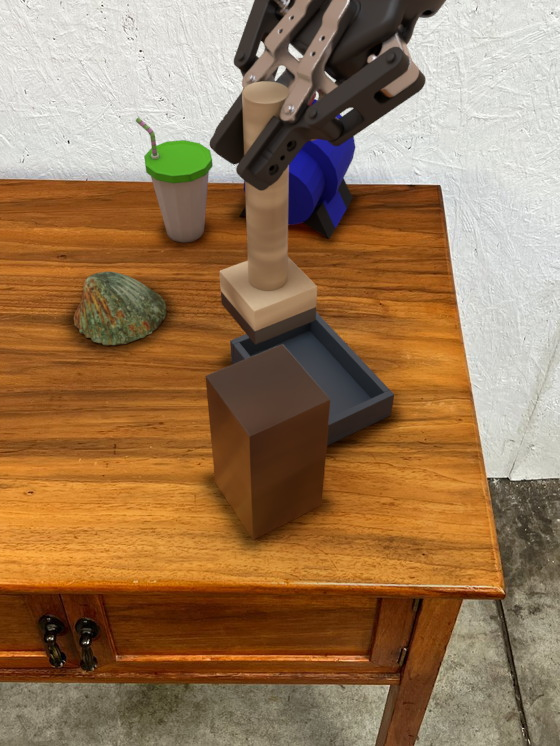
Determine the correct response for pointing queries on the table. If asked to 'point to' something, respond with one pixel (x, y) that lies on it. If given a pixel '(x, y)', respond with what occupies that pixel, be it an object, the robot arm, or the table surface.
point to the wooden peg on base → (266, 242)
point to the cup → (179, 184)
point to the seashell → (118, 309)
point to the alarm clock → (319, 184)
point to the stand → (268, 438)
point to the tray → (330, 375)
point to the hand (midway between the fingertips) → (236, 168)
